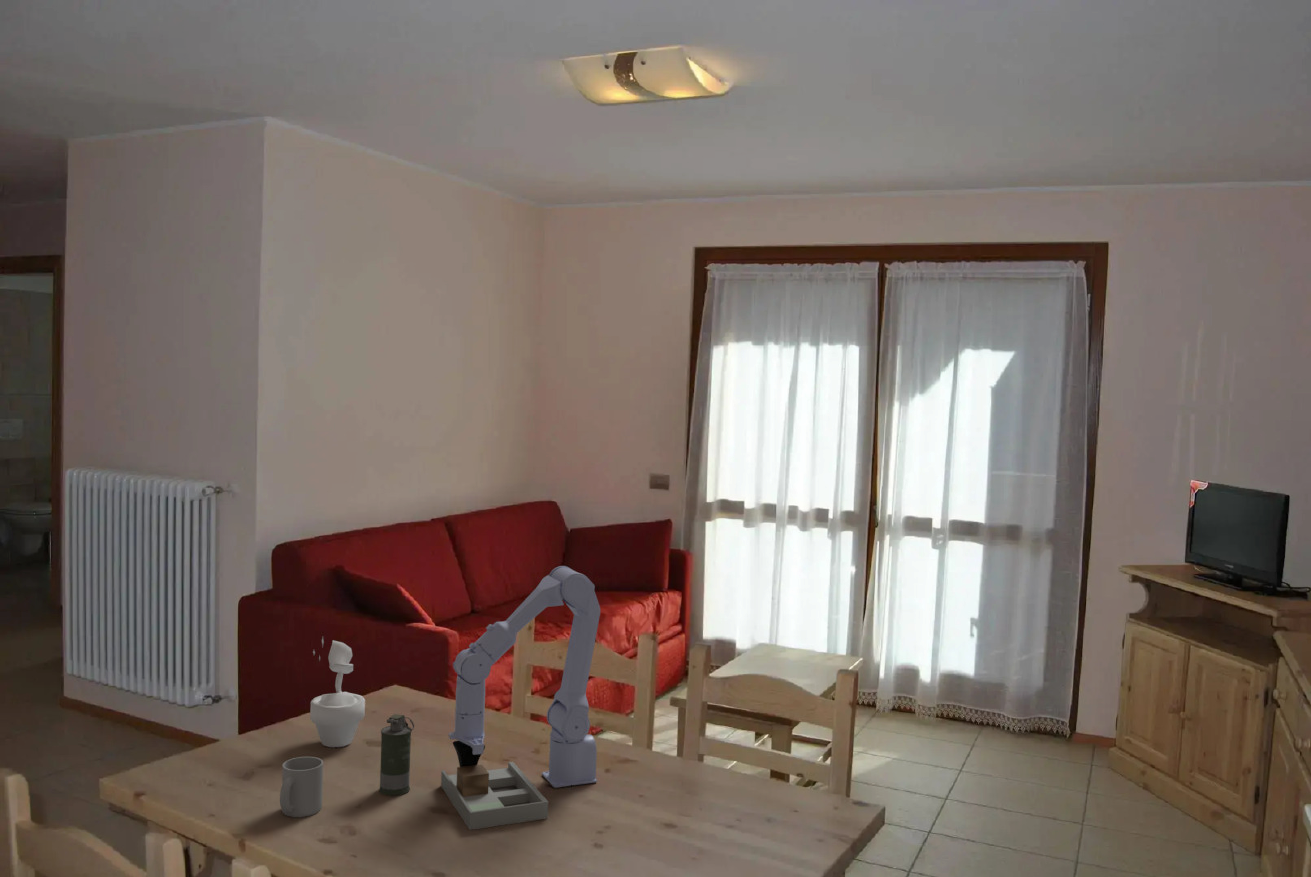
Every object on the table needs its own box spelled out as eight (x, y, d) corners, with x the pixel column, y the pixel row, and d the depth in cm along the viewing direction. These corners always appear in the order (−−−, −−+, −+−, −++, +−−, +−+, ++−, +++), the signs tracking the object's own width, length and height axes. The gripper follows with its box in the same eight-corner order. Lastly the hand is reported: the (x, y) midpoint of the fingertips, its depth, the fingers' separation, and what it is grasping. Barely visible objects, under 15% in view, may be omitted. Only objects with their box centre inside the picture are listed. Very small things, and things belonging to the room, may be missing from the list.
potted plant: (309, 736, 232) (312, 627, 231) (363, 733, 235) (366, 626, 234) (308, 755, 220) (311, 641, 219) (364, 752, 223) (368, 639, 222)
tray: (512, 776, 213) (512, 761, 213) (547, 818, 193) (548, 801, 193) (441, 786, 207) (441, 770, 206) (469, 830, 187) (470, 812, 187)
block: (481, 784, 203) (482, 764, 203) (488, 793, 199) (488, 773, 198) (456, 787, 201) (457, 767, 201) (462, 797, 197) (463, 776, 196)
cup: (329, 805, 195) (330, 759, 194) (298, 826, 185) (300, 778, 185) (296, 800, 197) (297, 754, 196) (264, 820, 187) (265, 773, 187)
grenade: (402, 797, 200) (404, 722, 199) (373, 794, 201) (375, 719, 200) (415, 785, 206) (418, 712, 205) (388, 782, 207) (390, 709, 207)
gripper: (441, 701, 208) (439, 767, 208) (459, 724, 195) (456, 794, 195) (475, 698, 211) (473, 763, 211) (495, 720, 198) (492, 789, 198)
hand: (467, 778), depth 203 cm, fingers closed
